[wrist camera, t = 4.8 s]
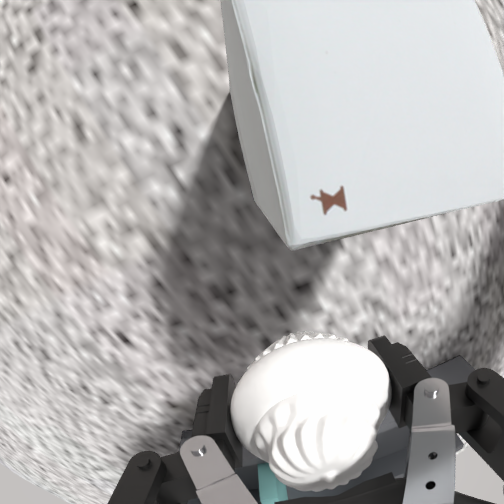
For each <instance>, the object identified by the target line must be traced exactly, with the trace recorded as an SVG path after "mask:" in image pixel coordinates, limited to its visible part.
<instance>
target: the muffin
mask: <svg viewBox="0 0 504 504" xmlns="http://www.w3.org/2000/svg"><path fill="white" fill-rule="evenodd" d="M391 398H392V387H391V381H390V377H389V373H388V371H387V369H386V367H385V365H384V363H383V362H382V361H381V359H380V358H379V357H378V356H377V355H376V354H374V353H373V352H372V351H370V350H368V349H366V348H364V347H362V346H360V345H358V344H355V343H351V342H348V340H347V339H346V338H342V337H335V335H332V334H325V333H316V332H308V331H304V332H302V333H301V332H297V333H295V334H292V333H290V334H289V336H283V337H282V338H281V339H280V340H277V341H276V342H275V343H273V344H272V345H271V346H269V347H268V348H267V349H266V350H265V351H263V352H262V353H261V354H260V355H259V356H257V357H256V358H255V361H254V362H253V363H252V364H251V365H250V366H248V367H247V371H246V372H245V374H244V375H243V376H242V378H241V379H240V381H239V382H238V384H237V386H236V388H235V390H234V393H233V396H232V400H231V409H230V411H231V421H232V425H233V428H234V431H235V433H236V436H237V437H238V439H239V441H240V442H241V443H242V445H243V446H244V447H245V448H246V449H247V450H248V451H250V452H251V453H252V454H254V455H255V456H256V457H258V458H260V459H262V460H264V461H266V462H268V463H269V467H270V469H271V470H272V472H273V473H274V474H275V476H276V478H277V479H278V480H279V481H280V482H281V483H283V484H285V485H287V486H289V487H293V488H295V489H297V490H300V491H310V490H312V491H315V492H318V491H322V490H324V489H334V488H335V487H336V486H338V485H345V484H347V483H348V482H349V480H351V479H355V478H357V477H359V476H360V475H361V473H362V471H363V470H365V469H366V468H367V467H369V466H370V464H371V462H372V460H373V456H374V454H375V452H376V451H377V449H378V444H377V442H376V440H375V439H376V436H377V432H378V430H379V427H380V425H381V423H382V421H383V420H384V418H385V416H386V414H387V412H388V410H389V407H390V403H391Z"/></svg>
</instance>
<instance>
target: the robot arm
mask: <svg viewBox="0 0 504 504" xmlns="http://www.w3.org/2000/svg"><path fill="white" fill-rule="evenodd" d="M368 350H370V351H372V352H373V353H374V354H376V355H377V356H378V357H379V358H380V359H381V361H382V362H383V363H384V365H385V367H386V369H387V371H388V373H389V377H390V381H391V387H392V398H391V403H390V407H389V411H390V412H391V414H392V416H393V418H394V420H395V422H396V423H397V425H398V427H399V428H402V427H404V426H408V428H409V430H410V431H409V439H408V448H407V456H406V464H405V470H404V476H403V478H394V476H393V473H392V472H390V473H387V474H384V475H382V476H379V477H376V478H373V479H370V480H367V481H364V482H362V483H360V484H358V485H356V486H355V487H353V488H351V489H349V490H347V491H345V492H343V493H341V494H339V495H336V496H324V497H301V498H296V499H290V500H284V501H278V502H274V504H495V503H491V502H488V501H484V500H481V499H477V498H474V497H471V496H468V495H465V494H462V493H459V492H456V491H454V489H455V461H456V459H455V458H456V447H455V434H456V433H459V434H460V435H461V437H462V438H463V439H464V440H465V441H466V442H467V443H468V444H469V445H470V446H471V447H472V448H473V449H474V450H475V451H476V452H477V453H478V454H479V455H480V456H481V457H482V459H483V460H484V461H485V462H486V463H487V464H488V465H489V466H490V467H491V468H492V469H493V470H494V471H495V472H496V473H497V475H498V476H499V477H500V478H501V479H502V480H503V481H504V378H503V377H502V376H500V375H499V374H498V373H496V372H495V371H493V370H491V369H487V368H481V369H477V370H474V371H473V372H472V373H470V375H469V376H468V379H467V382H463V383H458V384H452V385H448V384H447V383H446V382H445V381H443V380H441V379H438V378H432V377H431V376H430V375H429V373H428V372H427V371H426V370H425V368H424V367H423V366H422V365H421V364H420V362H419V361H418V360H417V359H416V357H415V356H414V355H412V353H411V351H410V350H409V349H408V348H407V347H406V346H404V345H402V344H400V343H398V342H397V343H395V344H391V343H390V342H389V340H388V339H387V338H386V337H385V336H381V337H378V338H375V339H372V340H369V341H368ZM235 388H236V386H235V383H234V380H233V378H232V375H231V374H228V375H223V376H217V377H214V378H213V384H212V389H205V390H204V391H203V392H202V394H201V395H200V396H199V398H198V404H197V409H196V414H195V420H194V425H193V430H192V436H191V438H190V439H188V440H187V441H186V442H184V443H183V445H182V446H181V449H180V451H179V452H177V453H175V454H171V455H168V456H165V457H161V458H160V456H159V455H158V454H157V453H155V452H152V451H144V452H140V453H138V454H136V455H135V456H133V457H132V458H131V460H130V461H129V463H128V465H127V467H126V469H125V471H124V473H123V475H122V477H121V479H120V480H119V482H118V484H117V486H116V488H115V490H114V492H113V494H112V496H111V498H110V500H109V502H108V504H187V503H188V500H192V499H195V498H198V497H199V499H200V501H201V503H202V504H258V503H257V502H256V500H255V499H254V498H253V496H252V495H251V493H250V492H249V491H248V489H247V488H246V486H245V485H244V484H243V482H242V481H241V479H240V478H239V476H238V475H237V474H236V473H235V468H240V467H243V445H242V443H241V442H240V441H239V439H238V437H237V436H236V433H235V431H234V428H233V425H232V421H231V411H230V409H231V400H232V396H233V393H234V390H235ZM503 494H504V487H503Z"/></svg>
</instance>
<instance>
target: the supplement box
mask: <svg viewBox="0 0 504 504" xmlns="http://www.w3.org/2000/svg"><path fill="white" fill-rule="evenodd" d="M221 9H222V18H223V27H224V35H225V45H226V54H227V63H228V72H229V86H230V94H231V100H232V105H233V110H234V116H235V121H236V126H237V131H238V135H239V140H240V144H241V149H242V153H243V157H244V161H245V166H246V170H247V174H248V178H249V182H250V186H251V190H252V194H253V198H254V202H256V204H257V205H258V207H259V208H260V209H261V211H262V212H263V214H264V215H265V216H266V218H267V219H268V221H269V222H270V223H271V225H272V226H273V228H274V229H275V231H276V232H277V234H278V235H279V236H280V238H281V239H282V241H283V242H284V243H285V245H286V246H287V247H288V248H289V249H290V250H293V251H294V250H298V249H302V248H306V247H309V246H313V245H318V244H322V243H326V242H330V241H334V240H338V239H343V238H347V237H351V236H355V235H359V234H363V233H367V232H372V231H376V230H380V229H384V228H388V227H392V226H396V225H400V224H404V223H408V222H412V221H416V220H420V219H424V218H428V217H432V216H436V215H440V214H444V213H448V212H452V211H457V210H461V209H466V208H470V207H474V206H479V205H483V204H487V203H492V202H497V201H500V200H504V75H503V71H502V68H501V65H500V62H499V59H498V56H497V53H496V50H495V47H494V45H493V42H492V39H491V37H490V34H489V32H488V29H487V27H486V24H485V22H484V20H483V17H482V15H481V13H480V11H479V9H478V6H477V4H476V2H475V0H221Z"/></svg>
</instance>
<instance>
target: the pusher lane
mask: <svg viewBox="0 0 504 504" xmlns="http://www.w3.org/2000/svg"><path fill="white" fill-rule="evenodd" d="M474 370H475V369H474V368H473V367H472V366H471V365H470V364H469V363H468V362H467V361H466V360H465V359H463V358H462V357H461V356H458V357H456V358H454V359H452V360H449V361H447V362H445V363H443V364H441V365H438V366H436V367H434V368H432V369H429V370H427V372H428V373H429V375H430V376H431V377H432V378H438V379H441V380H443V381H445V382H446V383H447V384H448V385H452V384H458V383H463V382H467V379H468V376H469V375H470V373H472V372H473V371H474ZM409 431H410V430H409V428H408V426H404V427H402V428H399V427H398V425H397V423H396V422H395V420H394V418H393V416H392V414H391V412H390V411H389V410H388V412H387V414H386V416H385V418H384V420H383V421H382V423H381V425H380V427H379V430H378V432H377V436H376V439H375V440H376V442H377V444H378V449H377V451H376V452H375V454H374V456H373V460H372V462H371V464H370V466H369V467H367V468H366V469H365V470H363V471H362V473H361V475H360V476H359V477H357V478H355V479H351V480H349V482H348V483H347V484H345V485H338V486H336V487H335V488H334V489H324V490H322V491H318V492H315V491H312V490H310V491H300V490H297V489H295V488H293V487H289V486H287V485H286V490H287V496H288V500H290V499H296V498H301V497H324V496H336V495H339V494H341V493H343V492H345V491H347V490H349V489H351V488H353V487H355V486H356V485H358V484H360V483H362V482H364V481H367V480H370V479H373V478H376V477H379V476H382V475H384V474H387V473H390V472H392V473H393V476H394V478H402V477H403V476H404V470H405V464H406V456H407V448H408V439H409ZM191 436H192V430H190V431H183V432H182V438H181V443H180V449H181V446H182V445H183V443H184V442H186V441H187V440H188V439H190V438H191ZM463 445H464V444H463V442H462V441H461V440H460V438H459V437H458V436H457V434H455V447H456V452H457V451H459V450H460V449H462V447H463ZM180 449H179V451H180ZM262 463H268V462H266V461H264V460H262V459H260V458H258V457H256V456H255V455H254V454H252V453H251V452H250V451H248V450H247V449H246V448H245V447H244V446H243V467H240V468H235V473H236V474H237V475H238V476H239V478H240V479H241V481H242V482H243V484H244V485H245V486H246V488H247V489H248V491H249V492H250V493H251V495H252V496H253V498H254V499H255V500H256V502H257V503H258V504H262V503H261V501H260V492H259V479H258V465H257V464H262ZM187 504H202V503H201V501H200V499H199V497H198V498H195V499H192V500H188V503H187Z"/></svg>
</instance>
